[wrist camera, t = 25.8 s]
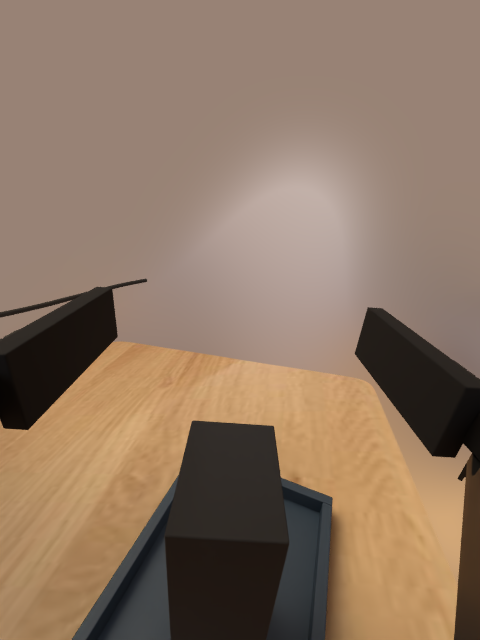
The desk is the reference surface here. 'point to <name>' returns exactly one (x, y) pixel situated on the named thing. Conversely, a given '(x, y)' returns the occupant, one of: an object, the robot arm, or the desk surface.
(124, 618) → the tray
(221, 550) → the black tall block
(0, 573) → the desk surface
